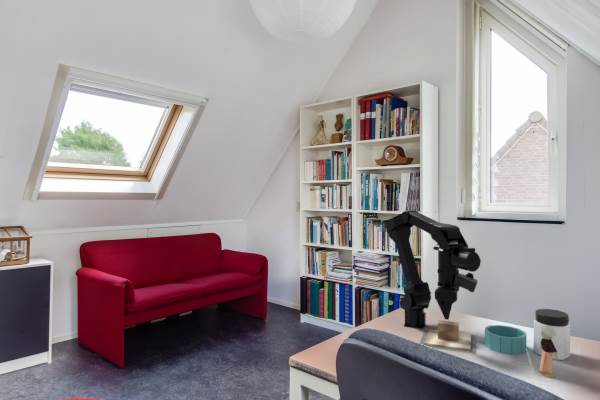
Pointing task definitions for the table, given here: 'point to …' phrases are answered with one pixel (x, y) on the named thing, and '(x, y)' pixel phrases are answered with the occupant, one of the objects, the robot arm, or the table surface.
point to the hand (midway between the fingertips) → (447, 314)
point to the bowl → (505, 339)
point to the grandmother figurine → (547, 351)
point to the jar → (560, 326)
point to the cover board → (448, 343)
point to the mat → (472, 349)
